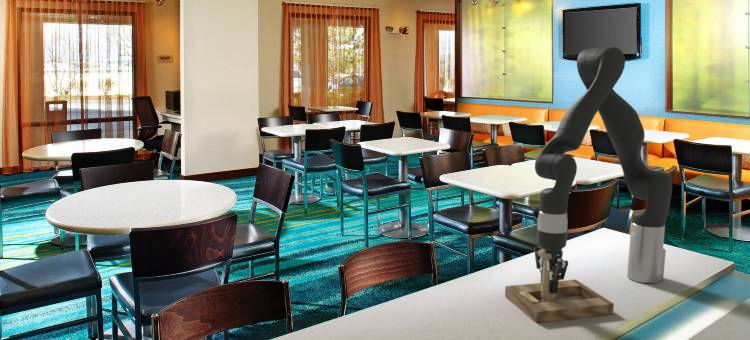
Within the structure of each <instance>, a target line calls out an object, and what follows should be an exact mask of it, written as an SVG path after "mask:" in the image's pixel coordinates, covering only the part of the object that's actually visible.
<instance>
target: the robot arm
mask: <svg viewBox="0 0 750 340" xmlns="http://www.w3.org/2000/svg"><path fill="white" fill-rule="evenodd" d="M625 66H626V59H625V55H624V52H623V51H622V50H621V49H620V48H619V47H617V46H616V47H615V46H603V47H602V46H601V47H594V48H587V49H583V50H582V51H580V52H579V54H578V56H577V60H576V68H577V72H578V76H579V78H580V80H581V82H582V83H583V86H584V87H585V89H586V91H585V93H583V94H582V95H581V96H580V98H579V99H577V100H576V101H575V103H573V104H572V105H571V106H570V107H569V108H568V109H567V111H566V112H565V113H564V115H563V117H562V118H561V121H560V123H559V125H558V127H557V129H556V132H555V134H554V135H553V137H551V139H550V140H549V141H548V142H547V143H546V145H545V146H544V147H543V148H542V149H541V151H540V152H539V153H538V155H537V157H536V160H535V163H534V170H535V171H534V172H535V174H536V175H537V176H538V177H540V178H542V179H546V180H552V181H555V183H554V186H553V187H545V188H543V189H542V190H541V191H540V195H539V208H538V209H539V211H538V215H537V230H536V244H537V245H538V246H534V256H535V259H534V260H535V267H536V269H537V270H539V273H540V282H541V281H542V273H543V264H544V259H543V258H541V257H540V256H539V255H538V250H541V249H544V250H546V251H547V252H549V253H551V254H552V259H547V260H546V261H547V270H548V271H549V276H550V280H549V292H550V293H551V294H552V293H557V292H558V281H564V280H565V279H564V278H565V276H566V273H567V268H568V267H569V261H568V260H564V259H563V256H562V252H561V250H562V251H563V249H564V248H566V246H567V237H568V233H567V232H568V222H569V221H568V206H569V205H568V202H569V201H568V200H569V195H570V193H571V189H572V187H573V186H572V185H573V183H574V182H575V181H574V180H575V178H576V176H577V175H576V174H577V171H578V170H577V169H578V164H577V162H576V159H575V158H574V157H573V156H571V155H570V154H566V153H569V152H573V151H577V150H579V149H580V147H581V145H582V143H583V141H584V139H585V137H586V134H587V132H588V131H589V130H588V129H589V128H590V125H591V124H592V122H593V119H594V118H595V116H596V115H597V113H599V115H600V118H601V120H602V123H603V125H604V128H605V130H606V132H607V135H608V138H609V139H610V141H611V144H612V146H613V148H614V150H615V152H616V153H615V154H616V155H617V158H618V160H619V163H620V167H621V168H622V169H621V170H622V172H623V176H624V180H625V183H626V186H627V190H628V191H629V193H630V195H632V197H634V198H636V199H639V200H641V201H646V203H645V204H646V205H645V208H644V209H642V210H635V211H633V213H632V214H631V221H630V223H631V225H630V237H629V247H628V248H629V249H628V250H629V251H628V261H627V274H626V276H627V277H626V278H628V279H629V280H632V281H634V282H637V283H642V284H656V283H659V282H660V281H664V275H665V264H666V252H667V251H666V248H664V242H665V230H666V221H667V219H668V216H669V213H670V212H669V211H670V208H671V207H670V205H671V199H672V193H673V181H672V178H671V176H670V175H669V174H668V173H667V172H666V173H665V172H662V171H658V170H653V169H648V168H647V167H646V165H645V163H644V161H643V158H642V155H641V150H642V148H643V144H644V141H645V136H646V135H645V130H644V126H643V124H642V122H641V119H640V117H639V116H640V115H639V114H638V113H637V111H636V109H635V108H633V106H632V105H631V104H630V103H629V102H628V101H626V100H625V99H624V98H623V97H622V96H621V95H620V94H618V93H617V92H616V90H614V88H615V86H616V84H617V83H618V81H619V79H621V77H622V75H623V72H624V70H625ZM553 266H556V268H551V267H553ZM553 271H555V273H554V275H553ZM540 286H541V284H540Z"/></svg>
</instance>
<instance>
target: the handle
mask: <svg viewBox="0 0 750 340" xmlns="http://www.w3.org/2000/svg"><path fill="white" fill-rule="evenodd" d="M561 252H562V257H564V251H563V249H562V250H561ZM538 255H539V256H540V257H541V258H543V259H544V264H543V273H542V281H541V280H540V283H541V297H542V299H541V301H540V302H548V301H556V300H555V299H556V298H555V295H556V293H552V294H551V293H550V292H549V280H550V276H549V271H548V270H547V261H546V260H547V259H552V254H551V253H549V252H547V251H546V250H544V249H541V250H538ZM551 268H556V266H553V267H551ZM554 273H555V271H553V275H554Z"/></svg>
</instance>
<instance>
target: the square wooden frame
mask: <svg viewBox="0 0 750 340" xmlns="http://www.w3.org/2000/svg"><path fill="white" fill-rule="evenodd" d="M540 284H541V282H537V283H536V282H535V283H525V284H513V285H506V286H505V290H504V297H505V298H506V299H507V300H508V301H510V302H511V303H512V304H514V305H515V307H517V308H518V310H520V311H521V312H523V313H524V315H526V316H527V317H529V319H531V320H532V321H533V322H534V323H536V324H540V323H550V322H549V321H551V322H558V321H557V320H560V321H567V320H568V319H569V320H575V319H583V318H584V319H585V317H586V318H593V316H595V317H602V315H604V316H610V315H609V314H613V315H614V307H615V306H614V305H615V304H614V303H613V302H612V301H610V300H608V299H607V298H606V297H604V296H602V295H601V294H599V293H598V292H596V291H595V290H593V289H592V288H590V287H588V286H587V285H585V284H584V283H582V282H580V281H579V280H578V279H567V280H566V279H565V280H559V281H558V292H557V293H556V295H555V299H559V300H555V301H548V302H542V301H541V299H542V297H541V286H540ZM580 296H581V297H580ZM560 297H561V298H569V297H580V298H581V299H573V300H568V299H560ZM583 298H584V299H583Z"/></svg>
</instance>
